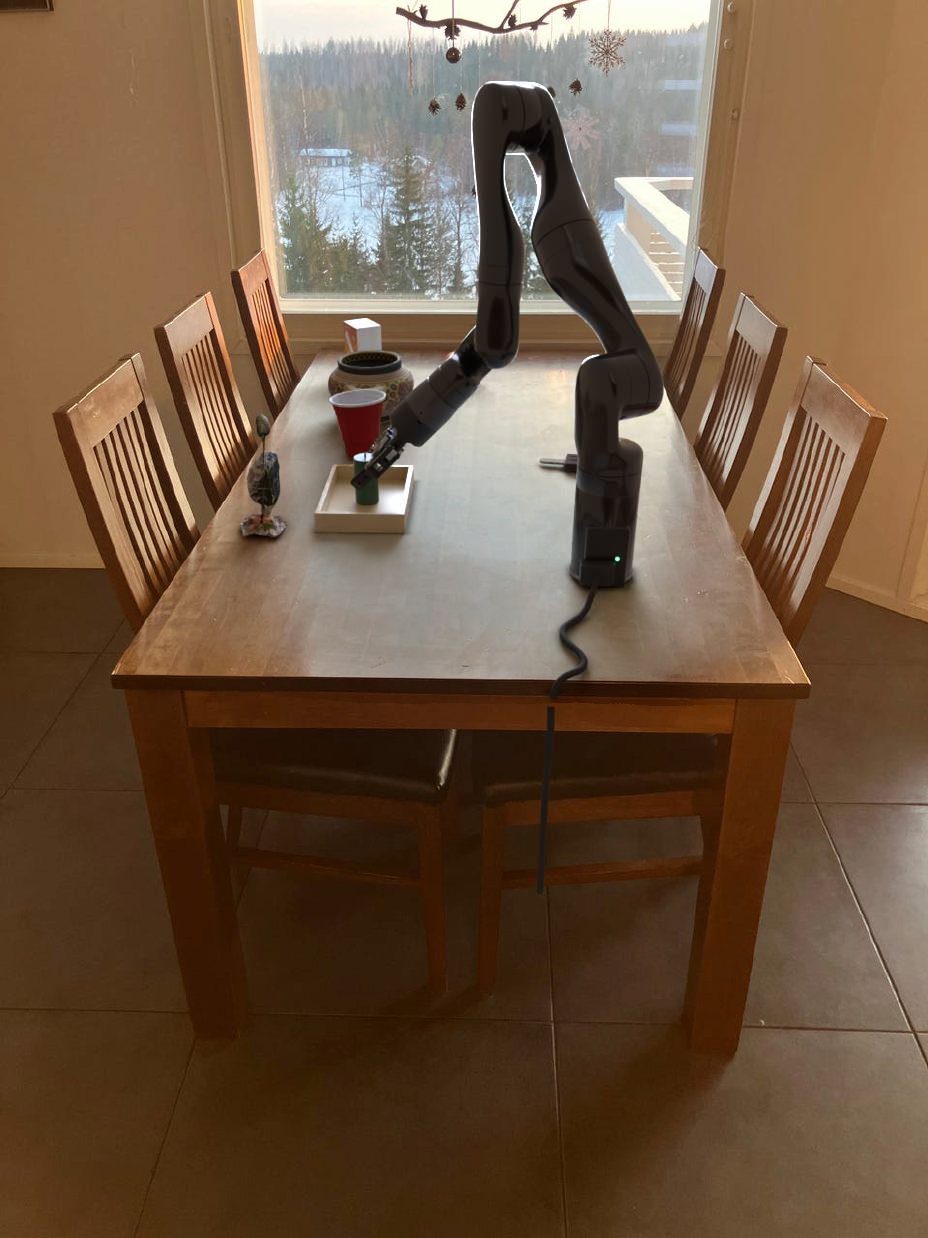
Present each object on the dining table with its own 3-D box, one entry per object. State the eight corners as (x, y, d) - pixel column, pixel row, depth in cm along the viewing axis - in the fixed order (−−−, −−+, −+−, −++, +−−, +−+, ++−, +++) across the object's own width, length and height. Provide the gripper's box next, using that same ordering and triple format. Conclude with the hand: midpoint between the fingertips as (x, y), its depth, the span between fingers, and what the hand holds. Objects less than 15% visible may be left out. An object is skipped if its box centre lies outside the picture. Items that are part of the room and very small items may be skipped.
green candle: (377, 505, 168) (375, 457, 163) (354, 505, 168) (351, 456, 163) (380, 496, 171) (378, 448, 167) (357, 496, 171) (354, 448, 167)
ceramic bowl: (353, 411, 222) (332, 346, 215) (428, 393, 219) (410, 327, 211) (332, 449, 201) (308, 379, 194) (414, 431, 197) (393, 359, 190)
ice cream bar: (538, 469, 184) (618, 475, 182) (538, 461, 183) (619, 466, 181) (541, 459, 189) (619, 464, 187) (541, 451, 188) (620, 456, 186)
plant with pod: (299, 514, 167) (289, 399, 156) (276, 543, 157) (264, 422, 147) (254, 510, 168) (241, 396, 158) (228, 539, 158) (213, 419, 148)
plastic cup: (354, 441, 197) (351, 383, 191) (399, 451, 192) (397, 391, 186) (321, 458, 189) (316, 397, 183) (366, 469, 184) (363, 407, 178)
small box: (346, 375, 236) (342, 320, 230) (370, 371, 239) (367, 317, 233) (359, 384, 230) (356, 328, 224) (383, 380, 233) (381, 324, 226)
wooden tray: (404, 533, 160) (404, 514, 159) (315, 531, 161) (314, 513, 159) (414, 482, 179) (413, 465, 177) (334, 481, 179) (333, 464, 178)
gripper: (410, 382, 166) (346, 447, 172) (404, 409, 154) (334, 478, 160) (442, 413, 169) (377, 476, 175) (438, 442, 156) (368, 509, 162)
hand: (357, 477), depth 167 cm, fingers open, 7 cm apart
